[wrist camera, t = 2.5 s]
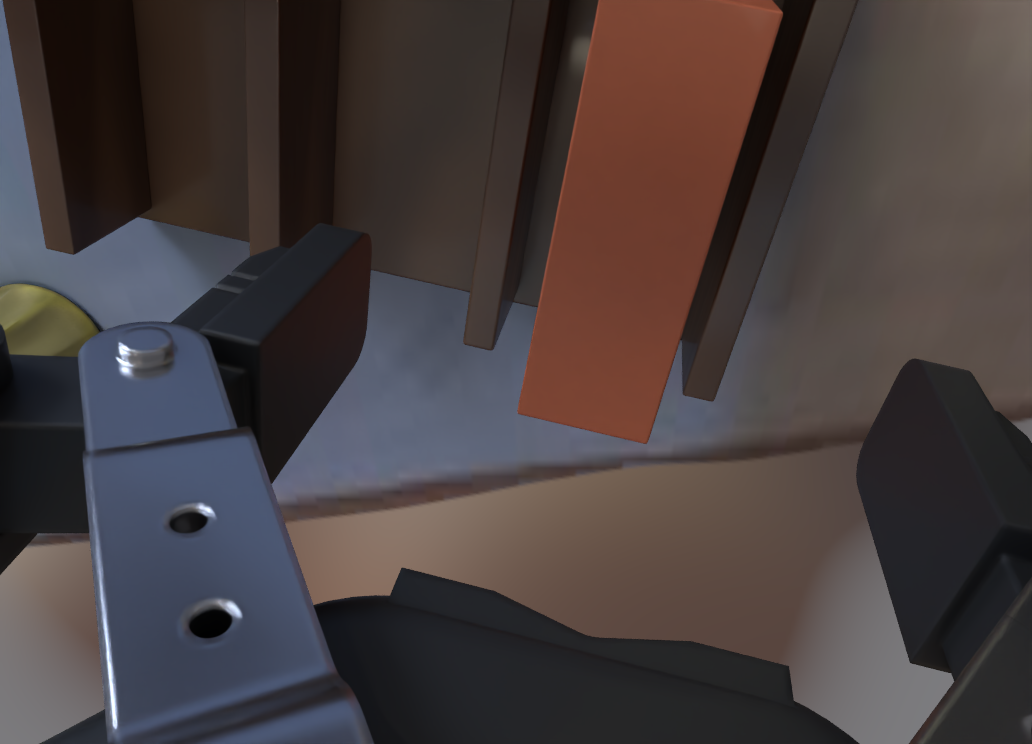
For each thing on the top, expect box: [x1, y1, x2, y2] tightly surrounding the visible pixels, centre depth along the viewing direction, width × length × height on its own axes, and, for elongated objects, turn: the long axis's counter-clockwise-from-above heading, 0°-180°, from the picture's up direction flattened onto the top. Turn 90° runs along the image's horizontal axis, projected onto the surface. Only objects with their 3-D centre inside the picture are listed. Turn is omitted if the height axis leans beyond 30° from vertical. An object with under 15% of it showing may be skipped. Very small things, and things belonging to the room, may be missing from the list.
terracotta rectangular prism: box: [517, 0, 783, 444], centre depth 20 cm, size 3×9×11 cm, turn 171°
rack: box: [3, 0, 859, 401], centre depth 22 cm, size 22×15×9 cm
